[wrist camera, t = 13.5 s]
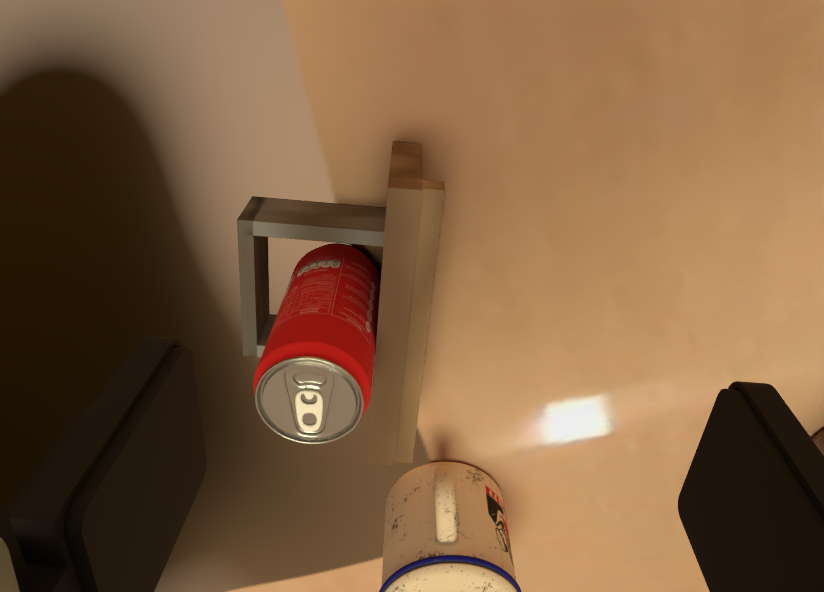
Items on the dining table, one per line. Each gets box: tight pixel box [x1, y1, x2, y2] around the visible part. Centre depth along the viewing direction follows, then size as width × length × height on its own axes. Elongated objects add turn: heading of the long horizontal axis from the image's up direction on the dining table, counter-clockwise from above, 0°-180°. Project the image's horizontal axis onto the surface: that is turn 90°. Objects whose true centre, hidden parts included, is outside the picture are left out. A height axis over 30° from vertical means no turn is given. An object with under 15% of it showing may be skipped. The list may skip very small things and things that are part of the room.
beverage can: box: [254, 244, 381, 444], centre depth 33 cm, size 5×5×12 cm
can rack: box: [237, 141, 445, 466], centre depth 34 cm, size 10×16×8 cm, turn 175°
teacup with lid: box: [379, 462, 521, 592], centre depth 41 cm, size 12×9×12 cm
